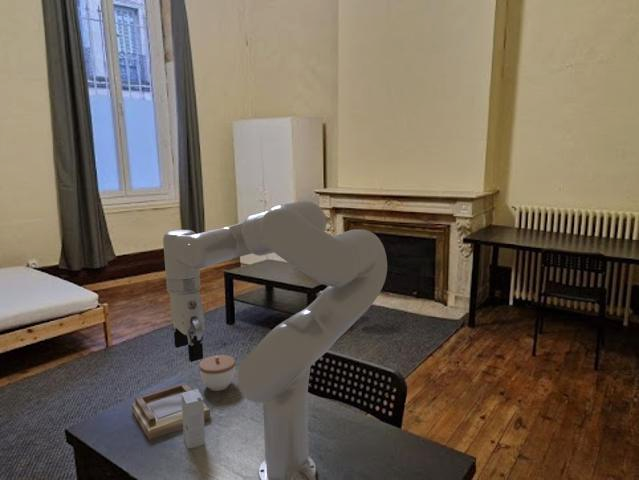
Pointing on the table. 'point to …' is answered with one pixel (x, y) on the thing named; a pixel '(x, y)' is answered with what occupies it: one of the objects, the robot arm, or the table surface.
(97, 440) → the table surface
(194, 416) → the skincare box
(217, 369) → the lidded jar
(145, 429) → the frame
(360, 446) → the table surface
